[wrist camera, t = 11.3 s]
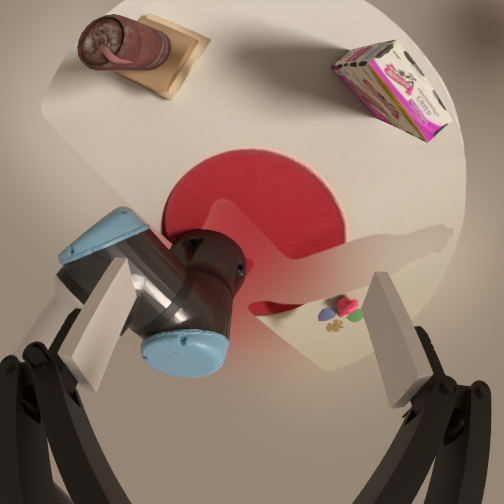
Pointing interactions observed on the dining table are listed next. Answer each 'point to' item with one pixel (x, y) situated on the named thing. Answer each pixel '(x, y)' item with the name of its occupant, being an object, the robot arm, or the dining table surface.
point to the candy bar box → (394, 88)
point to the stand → (169, 58)
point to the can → (122, 45)
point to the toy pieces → (341, 313)
